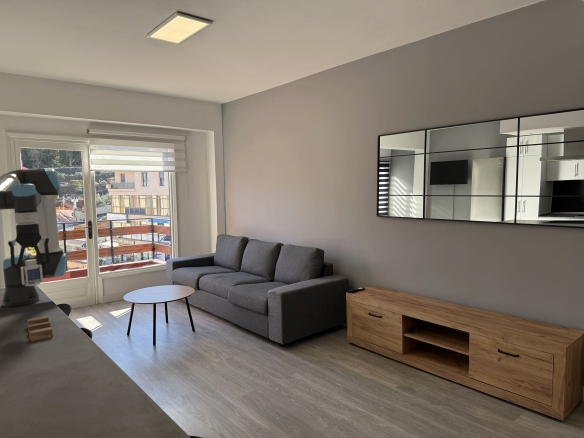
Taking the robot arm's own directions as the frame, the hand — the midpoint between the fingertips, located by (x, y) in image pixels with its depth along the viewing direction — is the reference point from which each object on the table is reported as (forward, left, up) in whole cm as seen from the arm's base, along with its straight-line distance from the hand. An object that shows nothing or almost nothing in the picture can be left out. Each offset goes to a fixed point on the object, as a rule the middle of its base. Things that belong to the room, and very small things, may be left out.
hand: (32, 282), depth 159 cm
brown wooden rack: (+8, +2, -18) cm, 20 cm away
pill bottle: (0, 0, -1) cm, 1 cm away
